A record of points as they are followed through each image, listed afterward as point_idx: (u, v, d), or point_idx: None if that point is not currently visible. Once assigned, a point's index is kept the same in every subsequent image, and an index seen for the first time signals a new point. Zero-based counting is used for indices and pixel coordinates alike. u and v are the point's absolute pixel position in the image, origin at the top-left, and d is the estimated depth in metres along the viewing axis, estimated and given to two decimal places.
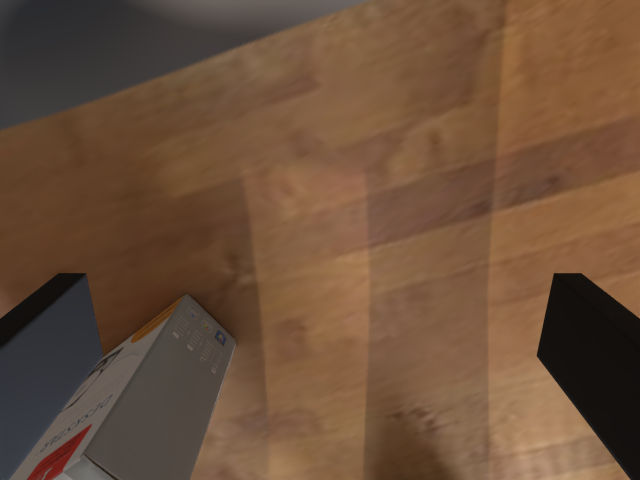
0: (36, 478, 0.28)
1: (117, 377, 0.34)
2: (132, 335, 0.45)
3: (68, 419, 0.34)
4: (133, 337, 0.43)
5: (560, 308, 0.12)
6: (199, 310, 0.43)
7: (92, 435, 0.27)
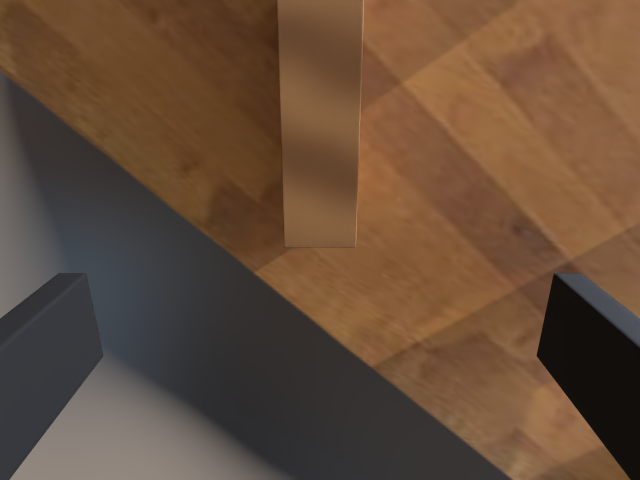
0: None
1: None
2: None
3: None
4: None
5: (560, 308, 0.12)
6: None
7: None
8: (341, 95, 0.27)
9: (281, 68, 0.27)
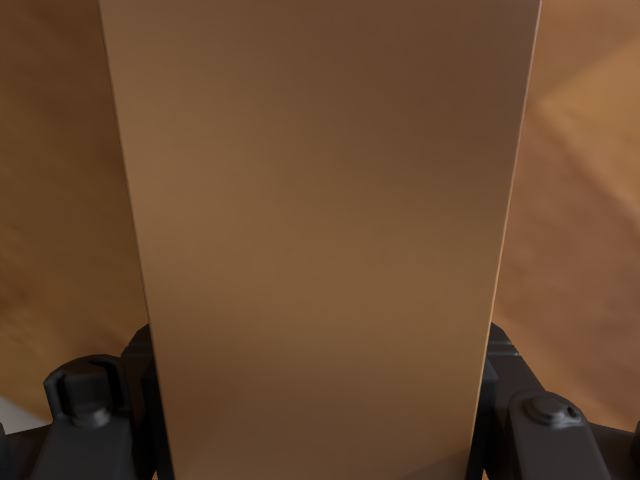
0: None
1: None
2: None
3: None
4: None
5: None
6: None
7: None
8: (418, 191, 0.06)
9: (118, 65, 0.05)
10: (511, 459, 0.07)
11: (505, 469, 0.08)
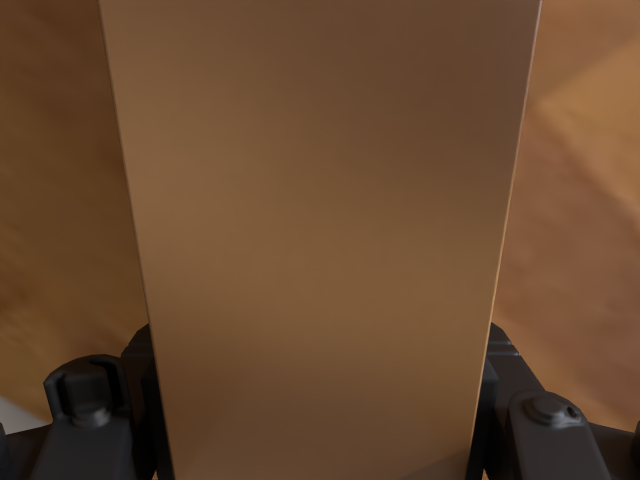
0: None
1: None
2: None
3: None
4: None
5: None
6: None
7: None
8: (418, 191, 0.06)
9: (118, 65, 0.05)
10: (511, 459, 0.07)
11: (505, 469, 0.08)
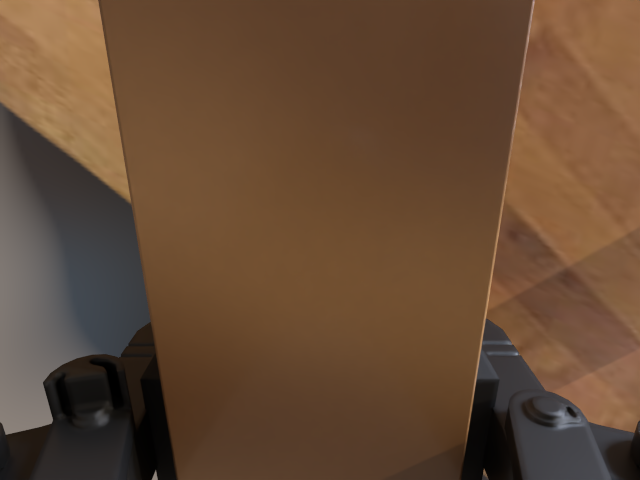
0: None
1: None
2: None
3: None
4: None
5: None
6: None
7: None
8: (414, 192, 0.06)
9: (121, 69, 0.05)
10: (511, 459, 0.07)
11: (505, 469, 0.08)
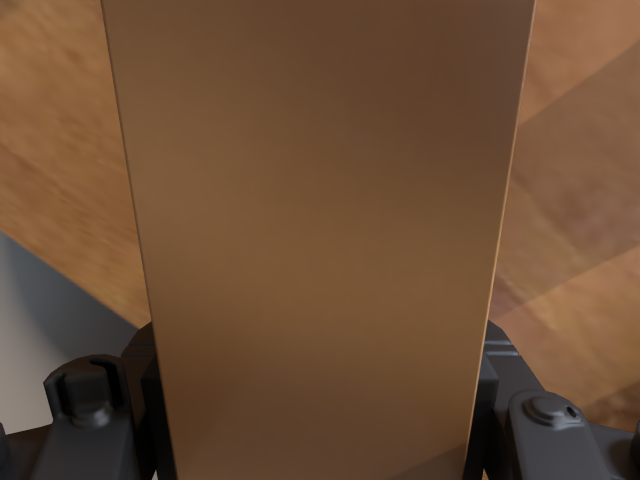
0: None
1: None
2: None
3: None
4: None
5: None
6: None
7: None
8: (416, 189, 0.06)
9: (122, 66, 0.05)
10: (511, 459, 0.07)
11: (505, 469, 0.08)
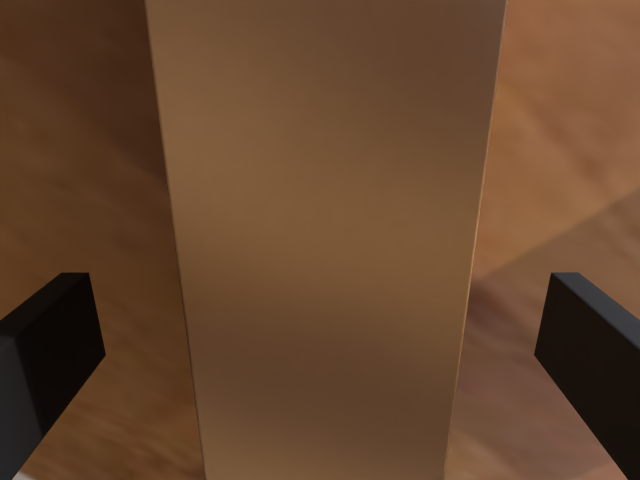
0: None
1: None
2: None
3: None
4: None
5: (557, 307, 0.12)
6: None
7: None
8: (409, 148, 0.07)
9: (158, 39, 0.06)
10: None
11: None
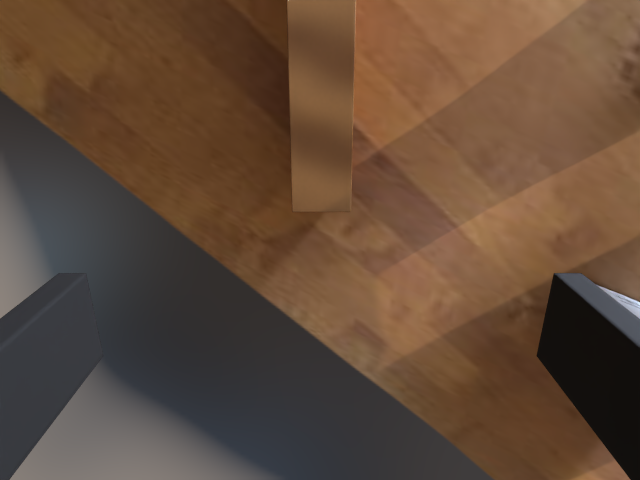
0: None
1: None
2: None
3: None
4: None
5: (560, 308, 0.12)
6: None
7: None
8: (337, 85, 0.34)
9: (290, 64, 0.33)
10: None
11: None
